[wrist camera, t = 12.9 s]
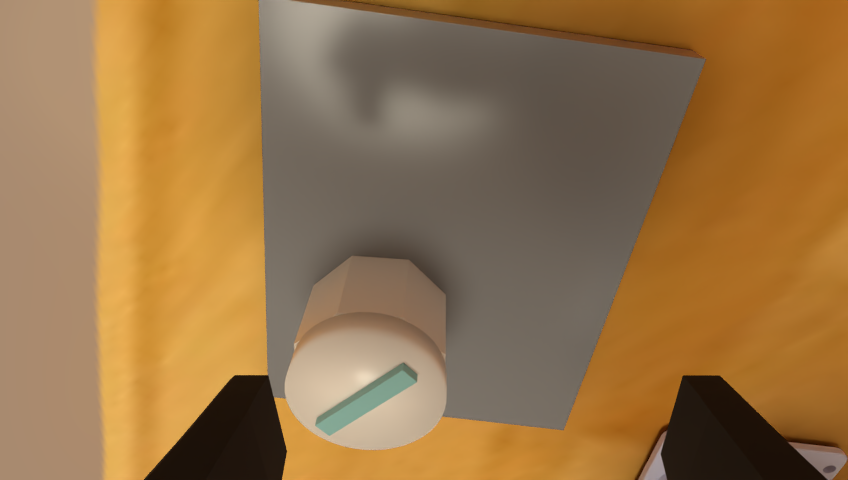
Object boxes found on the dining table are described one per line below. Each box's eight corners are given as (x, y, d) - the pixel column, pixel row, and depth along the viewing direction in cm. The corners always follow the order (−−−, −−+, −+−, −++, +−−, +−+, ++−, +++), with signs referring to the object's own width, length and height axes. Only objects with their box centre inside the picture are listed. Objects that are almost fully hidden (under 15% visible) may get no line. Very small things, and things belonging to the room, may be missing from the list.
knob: (381, 229, 18) (365, 314, 15) (474, 318, 20) (480, 412, 17) (283, 304, 20) (248, 396, 17) (377, 379, 22) (363, 477, 18)
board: (559, 410, 24) (575, 485, 21) (274, 378, 24) (249, 448, 21) (692, 50, 16) (747, 86, 13) (268, -10, 16) (227, 13, 13)
